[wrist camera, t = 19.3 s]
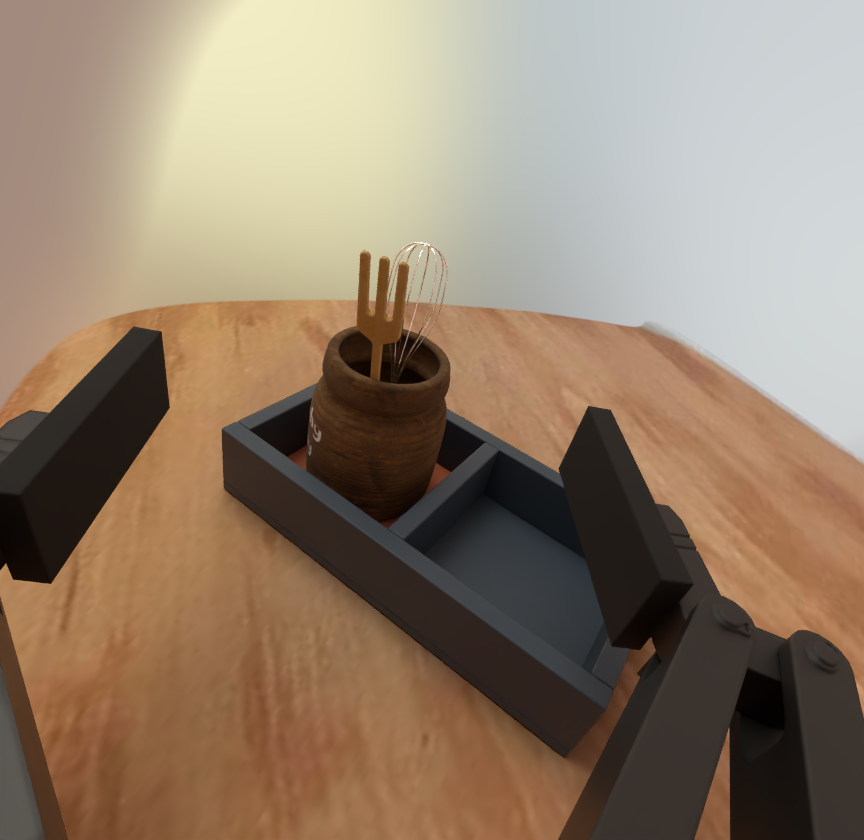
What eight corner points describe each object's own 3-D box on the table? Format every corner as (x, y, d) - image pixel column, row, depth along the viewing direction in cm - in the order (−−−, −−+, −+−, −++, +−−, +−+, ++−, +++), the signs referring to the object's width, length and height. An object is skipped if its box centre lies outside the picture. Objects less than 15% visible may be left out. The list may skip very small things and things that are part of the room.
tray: (565, 758, 18) (606, 710, 16) (223, 487, 24) (220, 428, 22) (639, 588, 24) (674, 539, 22) (356, 411, 31) (364, 359, 29)
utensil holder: (439, 460, 28) (505, 231, 21) (406, 548, 22) (479, 285, 15) (333, 425, 28) (363, 191, 21) (278, 505, 23) (291, 230, 16)
